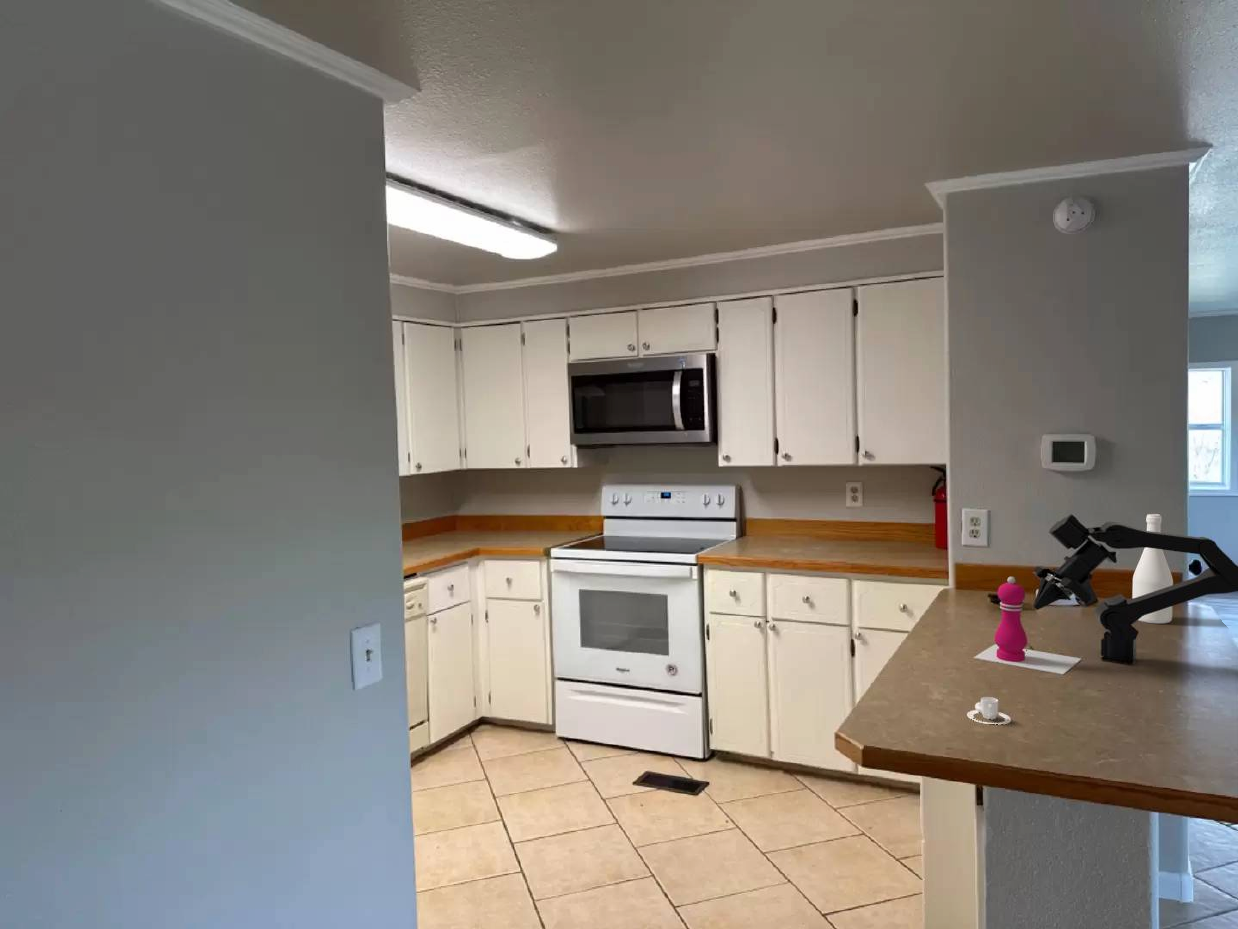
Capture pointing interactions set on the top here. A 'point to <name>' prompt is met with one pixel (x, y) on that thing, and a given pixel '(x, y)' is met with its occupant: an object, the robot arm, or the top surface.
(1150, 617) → the wine bottle
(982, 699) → the teacup and saucer
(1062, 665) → the rubber mat
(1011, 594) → the pepper mill
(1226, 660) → the top surface
